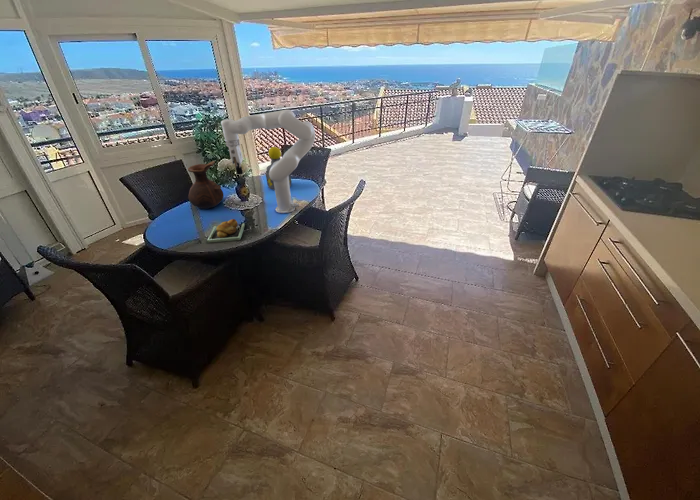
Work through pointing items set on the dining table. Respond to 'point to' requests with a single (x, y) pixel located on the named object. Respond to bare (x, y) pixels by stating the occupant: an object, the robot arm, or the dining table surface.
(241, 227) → the frame
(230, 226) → the bread roll
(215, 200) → the jug
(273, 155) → the decorative lamp
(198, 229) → the dining table surface
